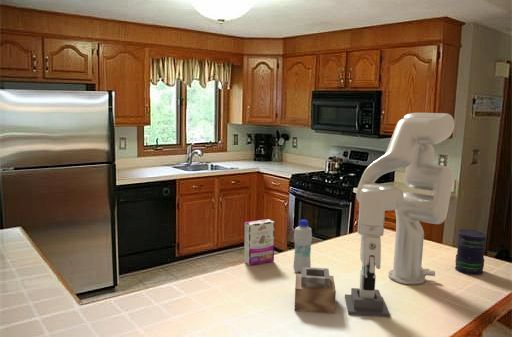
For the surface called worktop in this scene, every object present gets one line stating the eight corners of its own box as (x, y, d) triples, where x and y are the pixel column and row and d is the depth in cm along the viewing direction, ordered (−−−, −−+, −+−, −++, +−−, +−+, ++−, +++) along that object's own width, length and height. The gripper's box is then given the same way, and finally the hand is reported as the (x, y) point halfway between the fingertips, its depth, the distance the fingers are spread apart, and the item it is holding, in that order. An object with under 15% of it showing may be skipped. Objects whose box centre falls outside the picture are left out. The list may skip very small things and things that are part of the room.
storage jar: (455, 272, 164) (458, 234, 162) (454, 264, 173) (457, 228, 171) (484, 277, 161) (488, 238, 159) (481, 268, 170) (485, 231, 168)
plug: (372, 301, 136) (374, 264, 134) (373, 307, 132) (376, 269, 130) (359, 300, 136) (361, 263, 135) (360, 306, 132) (362, 268, 131)
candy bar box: (268, 257, 176) (269, 218, 174) (274, 261, 172) (275, 221, 170) (243, 261, 171) (244, 221, 169) (248, 266, 167) (249, 224, 165)
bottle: (310, 269, 165) (312, 217, 162) (311, 275, 158) (313, 222, 156) (292, 268, 166) (294, 217, 163) (292, 274, 159) (294, 221, 156)
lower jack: (382, 299, 139) (383, 287, 139) (389, 317, 128) (390, 304, 127) (344, 297, 141) (345, 285, 140) (348, 314, 129) (349, 301, 128)
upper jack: (332, 296, 141) (333, 266, 140) (334, 313, 129) (336, 281, 128) (295, 293, 142) (296, 264, 141) (294, 310, 131) (295, 278, 129)
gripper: (388, 237, 122) (384, 298, 124) (378, 222, 139) (375, 276, 141) (361, 236, 123) (358, 297, 125) (354, 221, 140) (351, 275, 142)
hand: (367, 285), depth 133 cm, fingers open, 5 cm apart
